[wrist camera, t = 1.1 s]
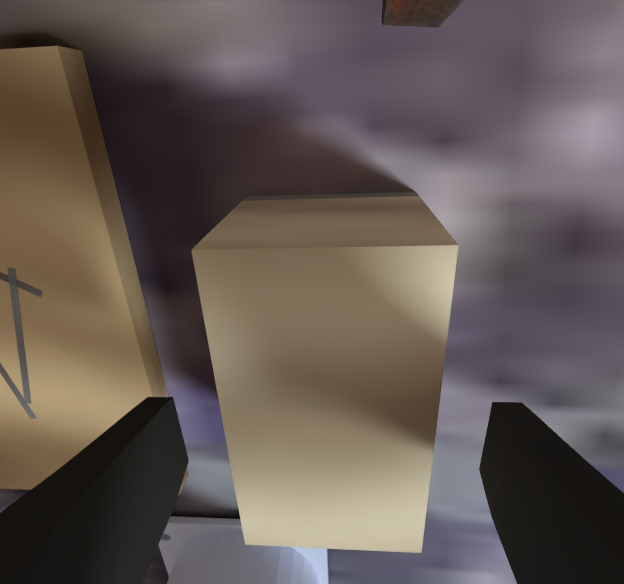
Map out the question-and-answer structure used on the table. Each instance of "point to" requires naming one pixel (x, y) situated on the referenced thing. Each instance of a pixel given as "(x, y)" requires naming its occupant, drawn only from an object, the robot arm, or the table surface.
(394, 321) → the block
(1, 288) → the board
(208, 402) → the table surface
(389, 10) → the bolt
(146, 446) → the robot arm
